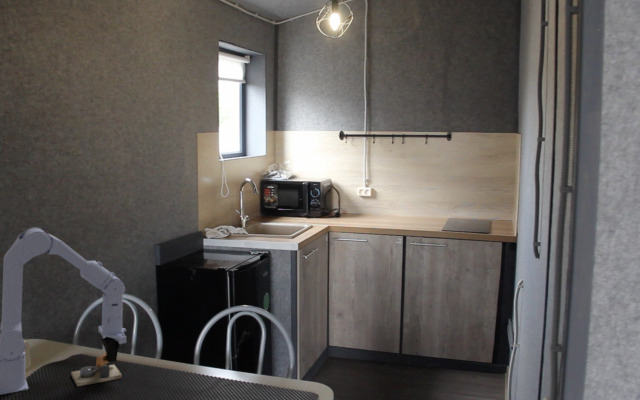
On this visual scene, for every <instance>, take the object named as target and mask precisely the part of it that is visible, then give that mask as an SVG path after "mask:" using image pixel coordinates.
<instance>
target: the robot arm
mask: <svg viewBox="0 0 640 400" xmlns="http://www.w3.org/2000/svg"><path fill="white" fill-rule="evenodd" d="M45 253H47V254H48V255H57V256H60V257H61V258H62V259H64V260H66V261H67V262H68V263H70V264H71V265H73V266H74V267H75V268H77V269H78V270H79V273H80V277H81V278H83V279H84V280H85V281H87V282H88V283H89V284H91V285H92V286H94V287H95V288H96V289H97V290H98V289H99V290H100V291H101V292H102V303H101V304H102V305H101V325H98V326H97V327H98V330H97V331H98V333H99V334H100V335H101V336H103V338H101V340H100V341H101V343H102V346H103V347H104V349H105V353H106V355H107V361H108V362H109V363H113V362H117V358H118V351H119V349H120V346H121V345H122V344H126V343H127V335H125V332H127V329H126V328H125V327H123V310H124V309H123V305H124V303H123V295H124V293H125V292H126V287H125V283H124V282H123V280H121V279H120V278H118V277H117V275H116V273H115V272H113V271H109V270H108V269H107V268H105V267H104V266H103V263H102V262H101V261H100V260H99V261H96V260H87V259H86V258H84V257H83V256H82V255H81V254H79V253H78V252H77V251H75V250H74V249H72V248H71V247H70V246H69V245H68V244H66V243H65V242H64V241H63V240H61V239H59V238H58V237H56V236H54V235H52V234H50V233H46V232H45V230H43V229H42V228H41V227H31V228H28V229H25V231H23V232H22V233H20V234H19V235H18V236H17V238H16V240H15V241H14V242H13V243H12V245H11V246H10V247H9V249H8V250H7V251H6V252H5V254H4V256H3V265H2V267H3V269H2V270H3V271H2V300H1V304H2V305H1V322H0V395H6V394H12V393H17V392H23V391H28V390H29V386H28V382H27V379H26V351H25V350H26V343H25V340H24V339H23V329H22V309H23V307H22V305H23V283H24V282H23V280H24V277H23V276H24V275H23V274H24V265H25V264H27V263H28V262H29V261H31V260H32V259H33V258H35V257H37V256H40V255H43V254H45Z"/></svg>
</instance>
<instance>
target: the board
mask: <svg viewBox="0 0 640 400" xmlns="http://www.w3.org/2000/svg"><path fill="white" fill-rule="evenodd" d="M108 366H109V377H108V378H101V377H100V370H98V371H96V372H95V375H94V376H92V377H88V378H83V377H81V376H80V370H75V371H71V372H70V373H71V374H70V375H71V377H72V379H73V381H74V383H75V384H76V386H77V387H82V386H87V385H92V384H97V383H104V382H109V381H113V380H119V379H123V375H122V373H121V372H120V370H119V368H118V367H117V366H116V365H115V364H109V365H108Z"/></svg>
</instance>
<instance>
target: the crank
mask: <svg viewBox="0 0 640 400" xmlns="http://www.w3.org/2000/svg"><path fill="white" fill-rule="evenodd" d="M95 363H96V365H95V366H93V365H89V366H87V365H86V366H84V367H81V368H80V369H79V371H80V376H81V377H83V378H88V377H92V376H94V375H95V372H96V371H98V370H100V368H101V367H103V366H108V365H107V364H108V363H110V362H108V361H107V355H106V352H105V353H103V354H101V355H99V356H97V357H96V362H95Z"/></svg>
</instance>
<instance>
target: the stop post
mask: <svg viewBox="0 0 640 400" xmlns="http://www.w3.org/2000/svg"><path fill="white" fill-rule="evenodd" d="M100 377H101V378H108V377H109V365H107V366H103V367H101V368H100Z"/></svg>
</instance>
